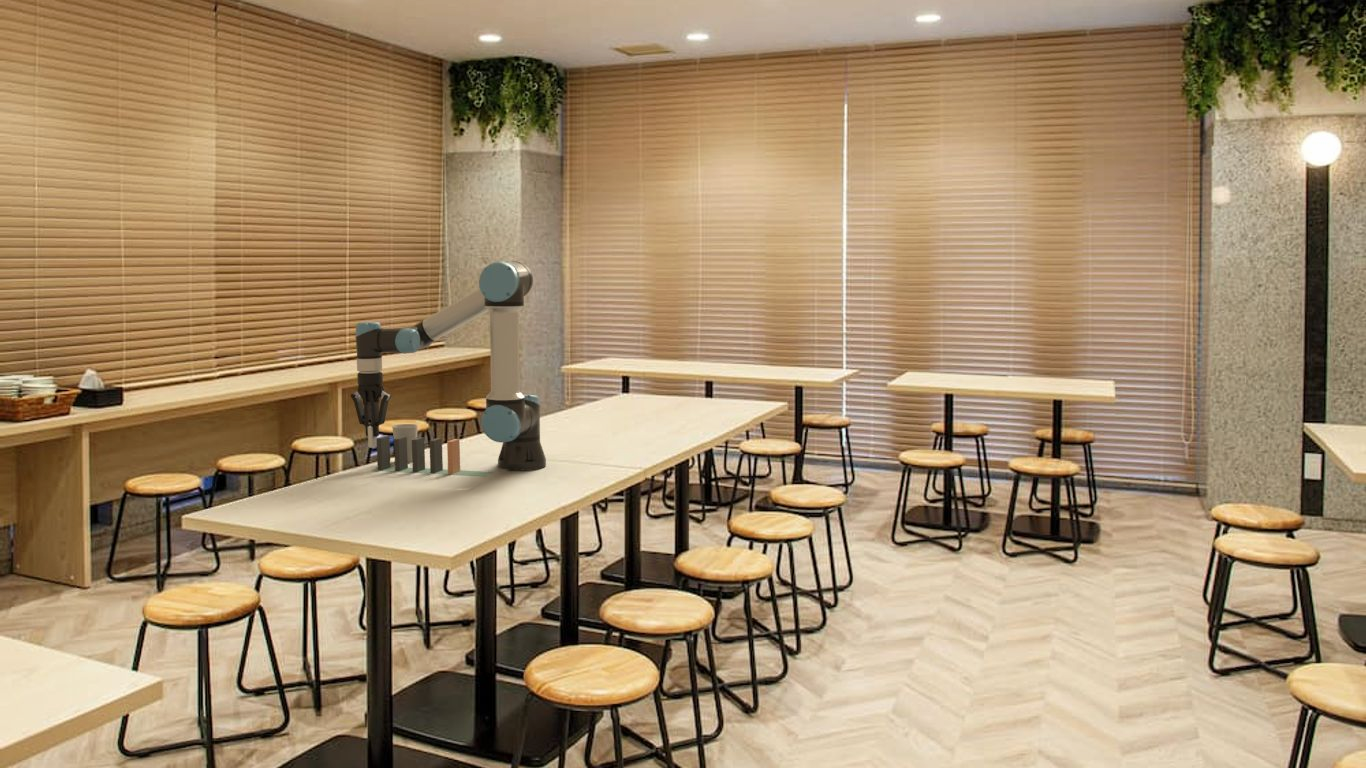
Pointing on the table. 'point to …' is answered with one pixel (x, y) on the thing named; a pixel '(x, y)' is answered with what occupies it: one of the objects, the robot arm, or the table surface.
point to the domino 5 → (453, 456)
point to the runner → (444, 472)
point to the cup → (408, 432)
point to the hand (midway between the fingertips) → (372, 446)
